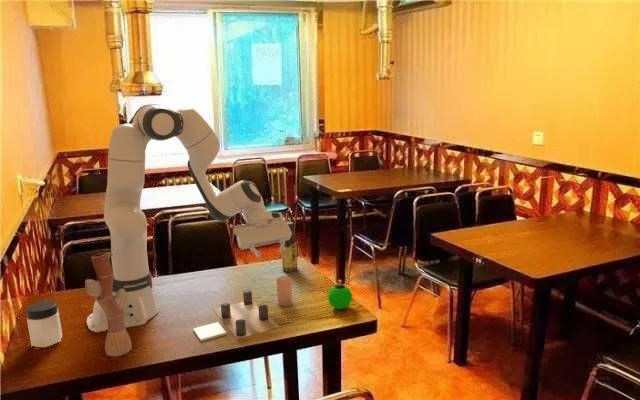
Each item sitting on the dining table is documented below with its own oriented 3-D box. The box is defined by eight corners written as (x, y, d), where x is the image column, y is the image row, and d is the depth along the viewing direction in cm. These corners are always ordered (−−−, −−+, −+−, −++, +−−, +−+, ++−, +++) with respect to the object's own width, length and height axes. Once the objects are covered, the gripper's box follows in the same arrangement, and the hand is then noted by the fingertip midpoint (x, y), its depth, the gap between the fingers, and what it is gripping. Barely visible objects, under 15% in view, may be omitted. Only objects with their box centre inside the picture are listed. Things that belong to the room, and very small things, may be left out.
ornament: (349, 314, 167) (348, 286, 165) (325, 312, 170) (324, 284, 167) (354, 304, 175) (354, 277, 173) (332, 302, 177) (331, 275, 175)
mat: (200, 341, 153) (200, 339, 153) (193, 330, 160) (193, 328, 159) (226, 334, 157) (226, 332, 156) (218, 324, 163) (217, 322, 163)
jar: (56, 332, 161) (51, 297, 159) (68, 340, 156) (62, 304, 153) (26, 344, 155) (19, 307, 152) (37, 352, 150) (31, 314, 147)
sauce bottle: (295, 273, 205) (293, 225, 201) (280, 272, 206) (278, 225, 202) (299, 267, 211) (297, 221, 207) (285, 266, 213) (282, 220, 208)
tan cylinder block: (281, 307, 174) (280, 282, 172) (275, 302, 178) (274, 278, 176) (294, 304, 177) (293, 279, 174) (288, 299, 181) (287, 275, 179)
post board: (237, 340, 154) (236, 325, 153) (213, 310, 174) (212, 297, 173) (279, 328, 160) (278, 314, 159) (251, 301, 181) (250, 288, 180)
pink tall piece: (133, 341, 154) (121, 247, 147) (134, 352, 148) (122, 254, 141) (95, 349, 151) (81, 252, 144) (95, 361, 144) (80, 260, 137)
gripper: (233, 221, 181) (245, 255, 175) (285, 212, 191) (298, 244, 185) (230, 230, 186) (241, 263, 180) (281, 221, 195) (293, 252, 189)
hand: (271, 253), depth 182 cm, fingers open, 8 cm apart
